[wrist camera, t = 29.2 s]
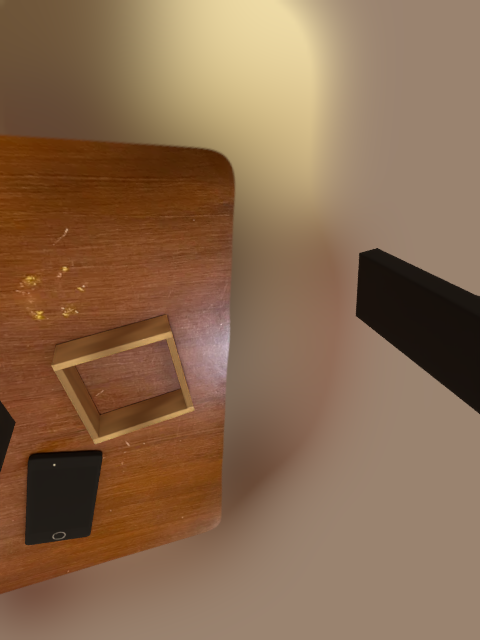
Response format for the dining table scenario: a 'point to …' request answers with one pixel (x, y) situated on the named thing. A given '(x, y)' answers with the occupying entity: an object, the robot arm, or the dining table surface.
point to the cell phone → (61, 495)
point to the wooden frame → (111, 344)
